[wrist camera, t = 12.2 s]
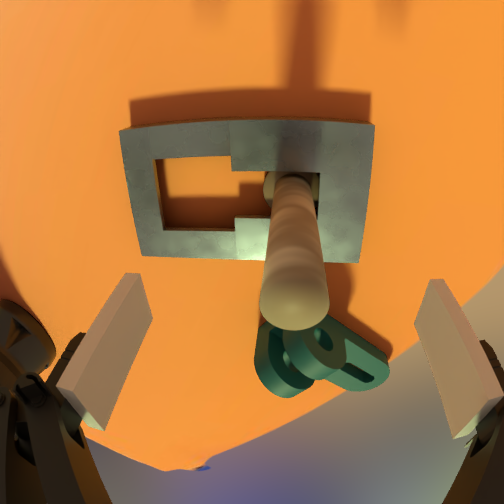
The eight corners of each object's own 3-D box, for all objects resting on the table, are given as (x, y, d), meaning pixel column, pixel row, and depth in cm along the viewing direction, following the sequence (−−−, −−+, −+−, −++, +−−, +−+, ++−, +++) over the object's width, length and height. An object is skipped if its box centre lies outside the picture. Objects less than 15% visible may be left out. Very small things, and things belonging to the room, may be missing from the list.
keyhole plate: (150, 244, 30) (142, 255, 28) (130, 126, 24) (118, 131, 22) (354, 250, 28) (358, 263, 26) (367, 121, 22) (374, 125, 20)
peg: (264, 212, 27) (241, 341, 14) (263, 159, 25) (234, 256, 12) (319, 213, 27) (341, 344, 14) (321, 160, 24) (358, 259, 12)
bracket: (258, 327, 35) (250, 382, 28) (298, 292, 32) (298, 350, 25) (358, 383, 39) (363, 431, 33) (395, 359, 36) (407, 408, 29)
